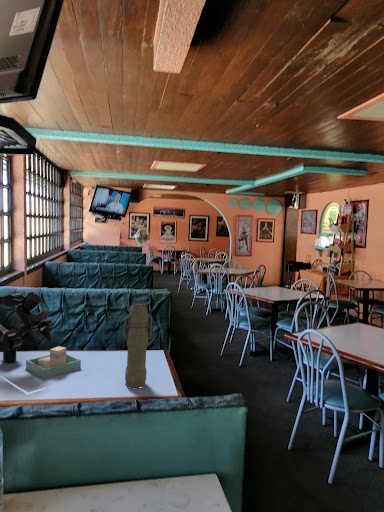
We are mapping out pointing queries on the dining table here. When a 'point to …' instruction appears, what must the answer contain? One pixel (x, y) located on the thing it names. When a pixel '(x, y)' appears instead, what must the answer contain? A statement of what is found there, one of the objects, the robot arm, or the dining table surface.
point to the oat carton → (57, 356)
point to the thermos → (137, 344)
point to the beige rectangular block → (44, 362)
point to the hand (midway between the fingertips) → (44, 343)
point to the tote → (70, 365)
